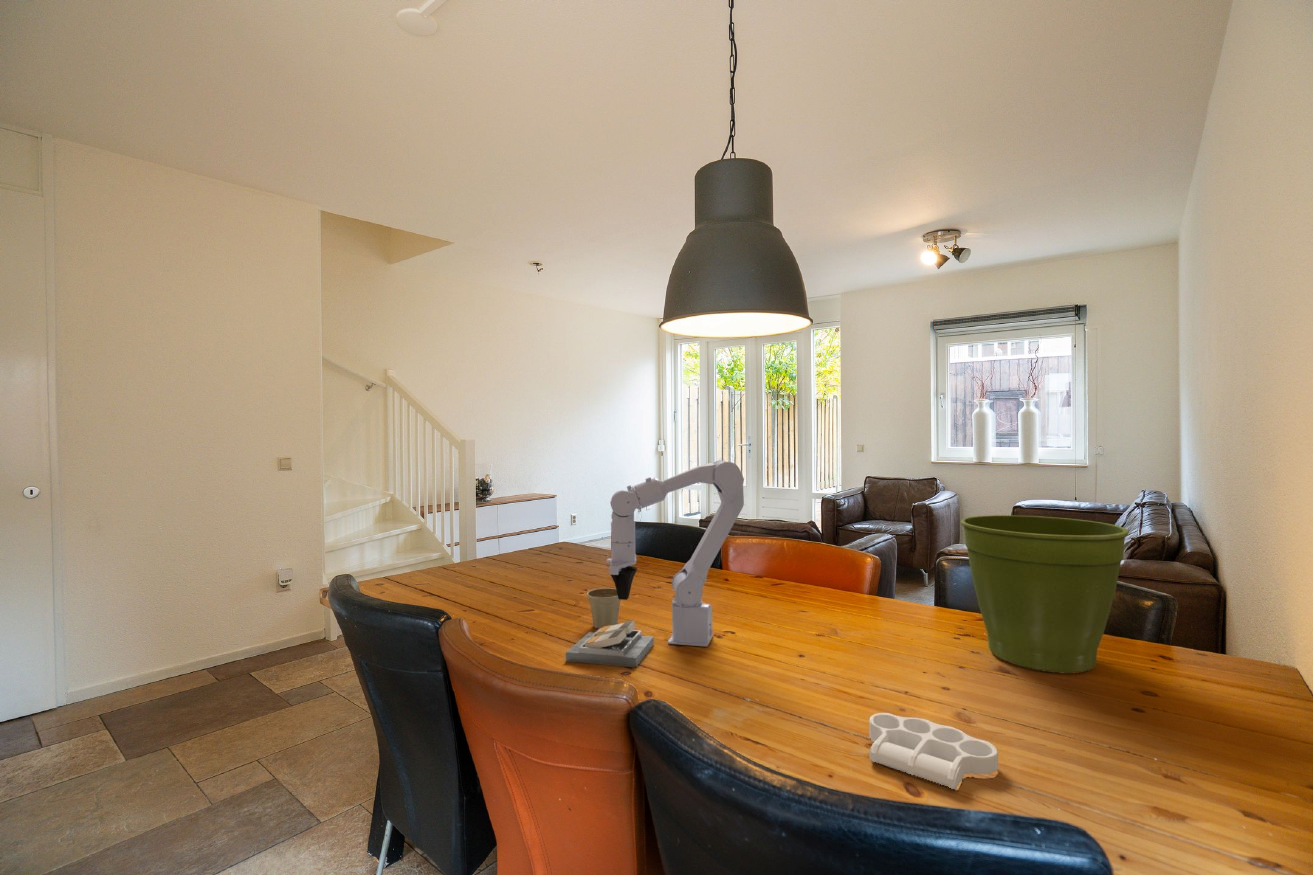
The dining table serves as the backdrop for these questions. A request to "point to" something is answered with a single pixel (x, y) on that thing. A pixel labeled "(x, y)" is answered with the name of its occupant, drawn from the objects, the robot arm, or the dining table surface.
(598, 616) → the flower pot
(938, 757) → the knuckle duster
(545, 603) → the dining table surface
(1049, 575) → the plant pot
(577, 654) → the panel
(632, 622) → the block
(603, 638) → the breaker
